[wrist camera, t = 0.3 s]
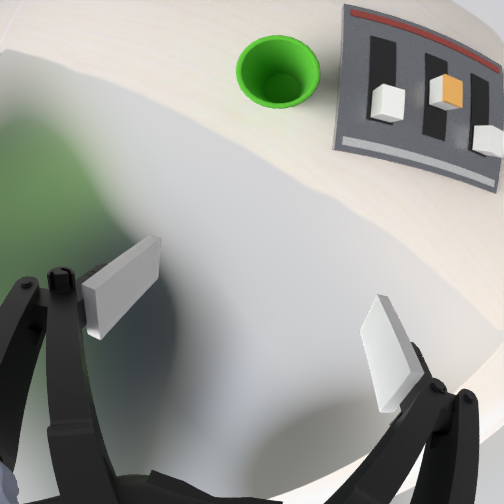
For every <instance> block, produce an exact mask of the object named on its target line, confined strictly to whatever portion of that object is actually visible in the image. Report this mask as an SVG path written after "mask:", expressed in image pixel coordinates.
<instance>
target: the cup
mask: <svg viewBox="0 0 504 504" xmlns="http://www.w3.org/2000/svg"><path fill="white" fill-rule="evenodd" d="M236 77H237V82H238V84H239V86H240V88H241V90H242V91H243V92H244V94H245V95H246V96H247V97H248V98H250V99H251V100H252V101H254V102H255V103H257V104H260V105H262V106H264V107H269V108H288V107H293V106H296V105H298V104H300V103H302V102H304V101H305V100H306V99H308V98H309V97H310V96H311V95H312V94H313V92H314V91H315V90H316V88H317V85H318V83H319V80H320V66H319V62H318V60H317V58H316V56H315V54H314V53H313V51H312V50H311V49H310V48H309V47H308V46H307V45H305V44H304V43H302V42H301V41H299V40H297V39H294V38H292V37H287V36H282V35H275V36H268V37H263V38H260V39H258V40H256V41H254V42H253V43H251V44H250V45H249V46H248V47H246V48H245V50H244V51H243V52H242V54H241V55H240V57H239V59H238V62H237V66H236Z"/></svg>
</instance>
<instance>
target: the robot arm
mask: <svg viewBox="0 0 504 504" xmlns="http://www.w3.org/2000/svg"><path fill="white" fill-rule="evenodd" d="M160 249H161V238H160V237H156V236H153V235H149V236H148V237H146V238H145V239H143V240H142V241H140V242H139V243H138V244H136V245H135V246H133V247H132V248H130V249H129V250H127V251H126V252H125V253H123V254H122V255H120V256H119V257H118V258H116V259H115V260H113V261H112V262H111V263H109V264H107V263H103V264H100V265H97V266H95V267H94V268H93V269H91V270H90V271H88V272H87V273H86V274H84V275H83V276H81V277H80V278H78V279H77V280H76V281H75V276H74V275H75V274H74V271H73V270H72V269H71V268H68V267H56V268H54V269H51V270H50V271H49V272H48V274H47V278H48V285H49V290H48V289H43V288H39V282H38V280H37V279H36V278H34V277H28V276H27V277H22V278H21V279H19V280H18V281H17V282H16V283H15V284H14V286H13V287H12V289H11V290H10V292H9V294H8V295H7V297H6V299H5V300H4V302H3V303H2V305H1V307H0V504H19V503H18V501H17V495H18V493H19V488H18V486H17V480H16V478H15V476H14V474H13V471H14V467H15V463H16V458H17V452H18V445H19V437H20V431H21V425H22V419H23V415H24V409H25V405H26V400H27V396H28V392H29V388H30V384H31V380H32V376H33V372H34V368H35V365H36V362H37V359H38V355H39V352H40V349H41V346H42V343H43V340H44V337H45V334H46V376H47V393H48V405H49V414H50V422H51V423H50V426H49V427H48V429H47V436H48V443H49V448H50V454H51V459H52V464H53V469H54V473H55V477H56V481H57V485H58V488H59V492H60V495H59V496H56V497H52V498H48V499H44V500H39V501H35V502H30V503H25V504H283V502H282V501H273V500H265V499H259V498H252V497H241V498H220V497H213V496H211V495H209V494H207V493H205V492H203V491H201V490H199V489H197V488H195V487H194V486H192V485H190V484H188V483H186V482H184V481H182V480H179V479H176V478H173V477H170V476H167V475H164V474H161V473H159V472H156V471H154V470H152V471H151V473H150V475H139V474H133V475H132V474H130V475H121V476H116V474H115V471H114V468H113V466H112V464H111V461H110V459H109V456H108V453H107V449H106V446H105V443H104V440H103V436H102V433H101V429H100V426H99V422H98V418H97V414H96V409H95V405H94V401H93V396H92V392H91V386H90V381H89V376H88V370H87V364H86V357H85V350H84V343H83V334H82V328H83V327H84V326H85V325H87V331H88V334H89V335H91V336H93V337H95V338H97V339H100V340H101V339H102V338H103V337H104V336H105V335H106V333H107V332H108V331H109V330H110V329H111V328H112V327H113V326H114V325H115V324H116V323H117V321H118V320H119V319H120V318H121V317H122V316H123V315H124V314H125V313H126V312H127V310H128V309H129V308H130V307H131V306H132V305H133V304H134V303H135V302H136V301H137V300H138V299H139V297H141V296H142V295H143V293H144V292H145V291H146V290H147V289H148V288H149V287H150V286H151V285H152V284H153V283H154V282H155V281H156V280H157V279H158V273H159V260H160ZM360 334H361V338H362V342H363V345H364V349H365V353H366V357H367V360H368V364H369V368H370V372H371V376H372V380H373V384H374V389H375V393H376V398H377V402H378V407H379V411H380V412H382V413H393V412H394V411H395V410H396V409H397V408H398V406H399V405H400V408H401V412H400V413H399V415H398V416H397V417H396V418H395V419H394V420H393V421H392V422H391V423H390V427H389V429H388V430H387V432H386V433H385V434H384V436H383V437H382V438H381V440H380V441H379V442H378V444H377V445H376V446H375V447H374V449H373V450H372V451H371V452H370V454H369V455H368V456H367V457H366V459H365V460H364V461H363V462H362V463H361V465H360V466H359V467H358V468H357V469H356V470H355V472H354V473H353V474H352V475H351V476H350V477H349V478H348V479H347V480H346V482H345V483H344V484H343V485H342V486H341V487H340V488H339V489H338V490H337V491H336V492H335V493H334V494H333V495H332V496H331V497H330V498H329V499H328V500H327V501H326V502H325V503H324V504H389V503H390V502H391V500H392V499H393V497H394V496H395V494H396V493H397V491H398V490H399V488H400V487H401V485H402V484H403V482H404V481H405V479H406V477H407V476H408V474H409V472H410V471H411V469H412V467H413V465H414V464H415V462H416V460H417V458H418V456H419V455H420V453H421V451H422V449H423V447H424V445H425V443H426V445H425V450H424V454H423V459H422V463H421V467H420V471H419V475H418V479H417V482H416V486H415V489H414V493H413V496H412V499H411V502H410V504H474V501H475V494H476V486H477V477H478V463H479V409H478V400H477V397H476V396H475V394H474V393H473V392H472V391H470V390H468V389H462V390H461V391H460V392H459V393H458V394H457V395H454V394H450V393H448V392H447V388H446V386H445V385H444V383H443V382H441V381H440V380H438V379H436V378H432V375H431V373H430V371H429V369H428V366H427V364H426V362H425V360H424V358H423V357H422V354H421V351H420V349H419V348H418V347H417V346H416V345H415V344H414V343H413V342H410V340H409V338H408V336H407V334H406V332H405V330H404V328H403V326H402V324H401V322H400V320H399V318H398V316H397V314H396V312H395V310H394V308H393V306H392V304H391V302H390V300H389V298H388V297H387V296H383V295H379V294H377V295H376V297H375V299H374V302H373V304H372V306H371V308H370V310H369V312H368V314H367V317H366V318H365V321H364V323H363V325H362V327H361V329H360Z"/></svg>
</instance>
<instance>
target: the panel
mask: <svg viewBox="0 0 504 504" xmlns="http://www.w3.org/2000/svg"><path fill="white" fill-rule="evenodd" d="M444 74H447V75H449V76H451V77H454V78H456V79H458V80H460V81H462V82H463V101H462V108H458V109H451V110H446V111H445V110H443V109H440V108H438V107H435V106H432V105H429V96H430V80H432V79H434V78H436V77H439V76H441V75H444ZM382 84H386V85H389V86H393V87H396V88H400V89H403V90H405V104H404V117H403V120H399V121H395V122H387V121H383V120H379V119H375V118H371V107H372V94H373V90H375V89H376V88H378V87H379V86H381V85H382ZM503 123H504V93H503V75H502V66H501V65H499V64H498V63H496V62H494V61H493V60H491V59H489V58H488V57H486V56H484V55H482V54H481V53H479V52H477V51H475V50H473V49H471V48H470V47H468V46H466V45H464V44H462V43H460V42H458V41H456V40H453V39H451V38H449V37H447V36H445V35H442V34H440V33H438V32H435V31H433V30H431V29H428V28H426V27H423V26H420V25H418V24H415V23H412V22H409V21H406V20H404V19H401V18H397V17H394V16H391V15H388V14H384V13H381V12H377V11H373V10H369V9H365V8H361V7H357V6H352V5H347V4H344V5H343V8H342V32H341V56H340V72H339V86H338V99H337V110H336V120H335V130H334V139H333V148H332V150H337V151H343V152H348V153H354V154H359V155H364V156H369V157H373V158H378V159H382V160H387V161H391V162H395V163H399V164H403V165H407V166H411V167H415V168H419V169H422V170H426V171H429V172H433V173H436V174H439V175H443V176H446V177H449V178H452V179H456V180H459V181H462V182H465V183H468V184H470V185H473V186H476V187H479V188H482V189H484V190H487V191H490V192H493V193H495V194H496V190H497V184H498V178H499V171H500V163H501V157H495V156H488V155H484V154H482V153H479V152H477V151H474V150H472V149H473V139H474V126H486V125H492V126H494V127H496V128H498V129H500V130H502V131H503Z"/></svg>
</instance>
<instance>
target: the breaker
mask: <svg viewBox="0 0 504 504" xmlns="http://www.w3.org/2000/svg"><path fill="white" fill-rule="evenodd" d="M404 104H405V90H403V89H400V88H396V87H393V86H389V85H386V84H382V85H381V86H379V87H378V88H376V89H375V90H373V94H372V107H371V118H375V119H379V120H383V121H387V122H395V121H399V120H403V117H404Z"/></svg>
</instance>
